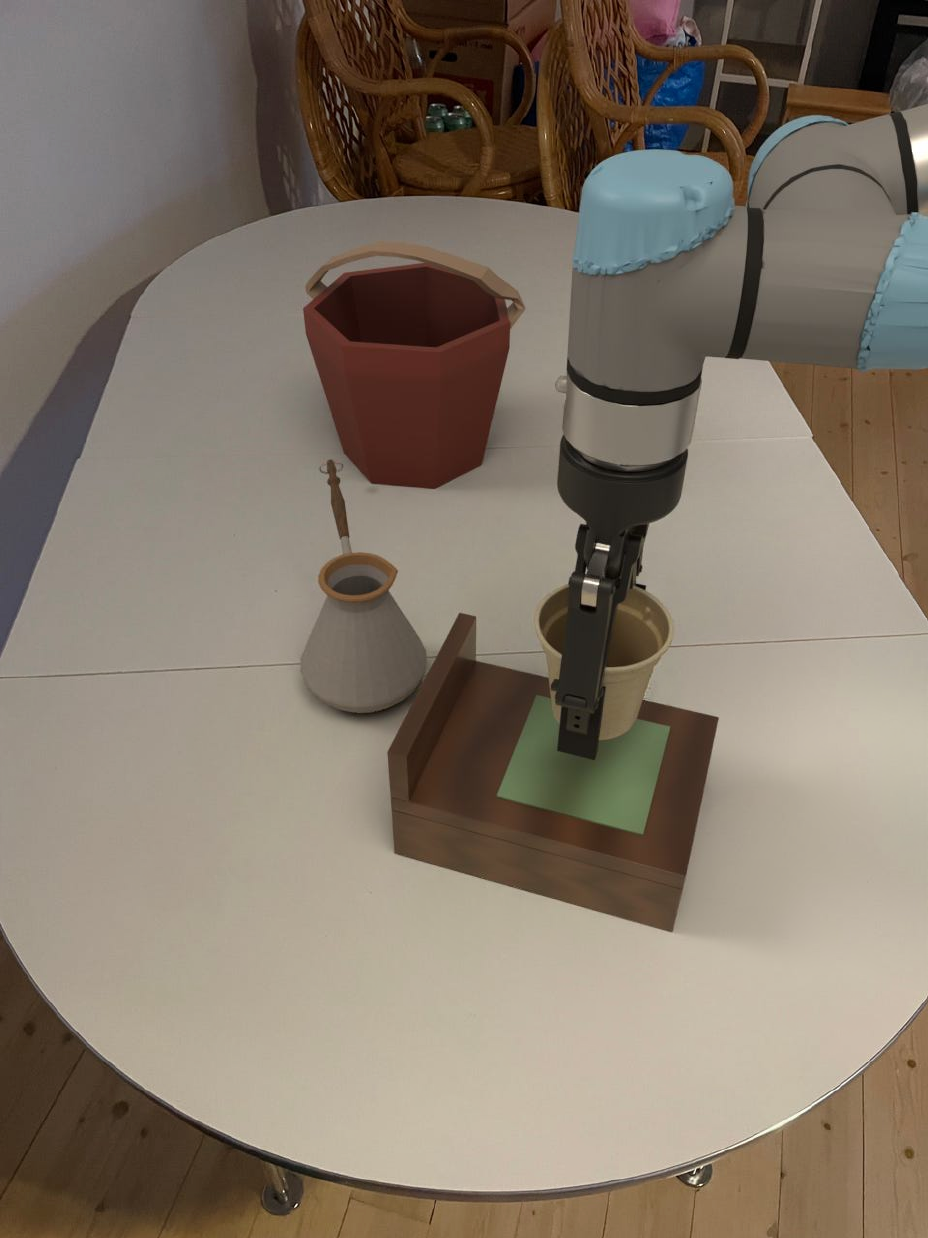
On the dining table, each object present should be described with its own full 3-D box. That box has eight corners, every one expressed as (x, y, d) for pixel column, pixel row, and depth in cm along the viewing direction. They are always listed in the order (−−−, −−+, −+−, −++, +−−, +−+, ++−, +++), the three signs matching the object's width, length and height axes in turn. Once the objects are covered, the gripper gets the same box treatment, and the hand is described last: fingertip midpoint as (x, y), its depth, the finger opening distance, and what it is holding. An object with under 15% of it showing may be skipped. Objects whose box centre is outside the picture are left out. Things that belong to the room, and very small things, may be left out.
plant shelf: (705, 773, 88) (729, 672, 80) (672, 932, 77) (696, 832, 69) (459, 713, 93) (459, 612, 85) (394, 853, 82) (386, 752, 74)
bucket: (548, 442, 127) (561, 240, 111) (444, 532, 114) (441, 316, 97) (388, 387, 138) (378, 194, 121) (276, 463, 124) (247, 257, 107)
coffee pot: (439, 717, 93) (436, 587, 83) (310, 739, 91) (292, 609, 81) (396, 571, 109) (390, 447, 99) (286, 587, 107) (267, 462, 97)
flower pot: (502, 706, 77) (505, 617, 71) (590, 648, 81) (600, 560, 76) (596, 780, 71) (607, 691, 66) (684, 714, 76) (702, 625, 70)
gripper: (602, 349, 69) (576, 607, 84) (512, 528, 54) (500, 803, 69) (715, 367, 68) (668, 627, 83) (654, 556, 53) (611, 832, 68)
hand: (592, 707), depth 76 cm, fingers closed on flower pot, 8 cm apart
